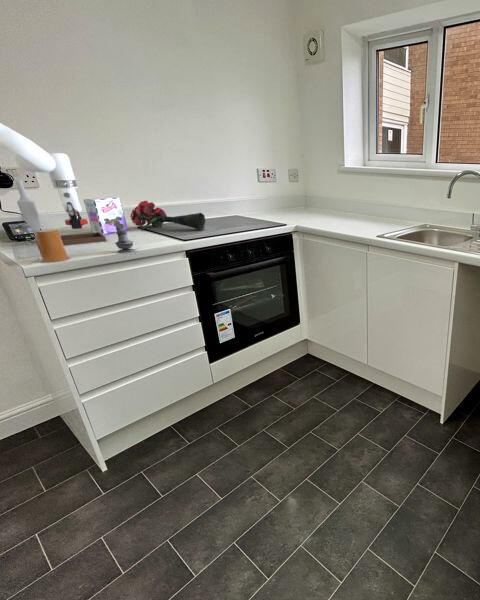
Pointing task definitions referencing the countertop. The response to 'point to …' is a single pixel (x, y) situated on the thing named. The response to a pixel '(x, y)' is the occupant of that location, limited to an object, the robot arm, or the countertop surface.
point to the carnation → (163, 217)
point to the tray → (82, 238)
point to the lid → (82, 221)
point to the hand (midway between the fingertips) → (77, 226)
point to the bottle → (28, 208)
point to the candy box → (105, 214)
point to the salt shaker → (123, 239)
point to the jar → (50, 245)
